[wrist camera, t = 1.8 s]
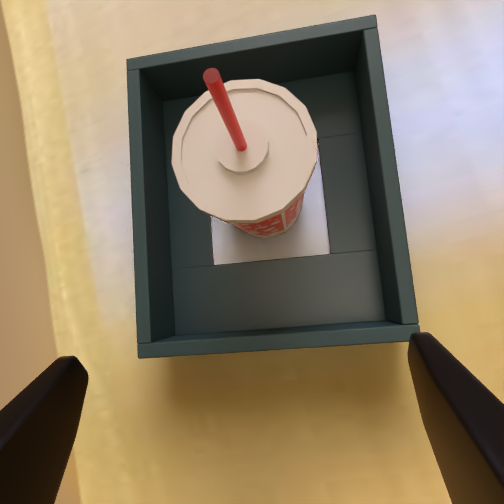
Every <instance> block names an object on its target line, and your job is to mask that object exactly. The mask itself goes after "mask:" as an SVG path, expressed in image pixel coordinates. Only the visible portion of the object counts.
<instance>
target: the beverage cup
mask: <svg viewBox="0 0 504 504" xmlns="http://www.w3.org/2000/svg"><path fill="white" fill-rule="evenodd" d="M203 79H204V81H205V83H206V86H207V88H208V91H206V92H204V93H203V94H202V95H201V96H200V97H199V98H198V99H197V100H196V101H195V102H194V103H193V104H192V105H191V106H190V107H189V108H188V109H187V110H186V111H185V112H184V115H183V117H182V119H181V121H180V123H179V125H178V127H177V129H176V132H175V134H174V136H173V148H172V166H173V169H174V172H175V175H176V178H177V181H178V184H179V186H180V189H181V190H182V191H183V192H184V193H185V194H186V196H187V197H188V198H189V199H190V200H191V201H192V202H193V203H194V204H195V205H196V206H197V207H198V208H199V209H200V210H201V211H203V212H205V213H207V214H209V215H211V216H214V217H216V218H218V219H221V220H223V221H225V222H228V223H232V224H234V225H235V226H237V227H238V228H240V229H242V230H243V231H245V232H247V233H249V234H251V235H254V236H256V237H274V236H277V235H279V234H282V233H284V232H286V231H287V230H288V229H289V228H290V227H291V226H292V225H293V224H294V223H295V222H296V219H297V217H298V215H299V213H300V210H301V206H302V201H303V196H304V191H305V189H306V187H307V185H308V182H309V180H310V178H311V176H312V174H313V171H314V169H315V165H316V152H317V131H316V129H315V127H314V124H313V122H312V120H311V117H310V115H309V113H308V111H307V108H306V106H305V105H304V104H303V103H301V102H300V101H299V100H298V99H297V98H296V97H295V96H294V95H293V94H292V93H290V92H289V91H288V90H287V89H286V88H284V87H281V86H278V85H276V84H273V83H270V82H267V81H264V80H261V79H247V80H231V81H229V82H226V83H224V84H223V81H222V79H221V76H220V74H219V71H218V70H217V69H215V68H209V69H207V70H206V71H205V72H204V74H203Z"/></svg>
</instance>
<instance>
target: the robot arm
mask: <svg viewBox="0 0 504 504" xmlns="http://www.w3.org/2000/svg"><path fill="white" fill-rule="evenodd" d="M408 363H409V367H410V371H411V375H412V379H413V384H414V388H415V392H416V396H417V400H418V404H419V408H420V413H421V416H422V420H423V423H424V426H425V430H426V432H427V435H428V438H429V441H430V443H431V446H432V449H433V452H434V454H435V457H436V460H437V463H438V465H439V468H440V471H441V474H442V476H443V479H444V482H445V485H446V487H447V490H448V493H449V496H450V498H451V501H452V504H504V404H503V403H502V402H501V401H500V400H499V399H498V398H497V397H496V396H495V395H494V394H493V393H492V392H490V391H489V390H488V389H487V388H486V387H485V386H484V385H483V384H482V383H481V382H480V381H479V380H478V379H477V378H476V377H475V376H474V375H473V374H472V373H471V372H470V371H469V370H468V369H467V368H466V367H465V366H463V365H462V364H461V363H460V362H459V361H458V360H457V359H456V358H455V357H454V356H453V355H452V354H451V353H450V352H449V351H448V350H447V349H446V348H445V347H444V346H443V345H442V344H441V343H440V342H439V341H438V340H437V339H435V338H434V337H433V336H432V335H431V334H430V333H428V332H420V333H412V334H411V336H410V341H409V347H408ZM87 385H88V373H87V371H86V369H85V368H84V367H83V365H82V364H81V363H80V361H79V360H78V358H77V357H75V356H63V357H59V358H58V359H57V360H55V361H54V362H53V363H52V364H51V365H50V366H49V367H48V368H47V369H46V370H44V371H43V372H42V373H41V374H40V375H39V376H38V377H37V378H36V379H35V380H33V381H32V382H31V383H30V384H29V385H28V386H27V387H26V388H25V389H24V390H23V391H21V392H20V393H19V394H18V395H17V396H16V397H15V398H14V399H13V400H12V401H10V402H9V403H8V404H7V405H6V406H5V407H4V408H3V409H2V410H1V411H0V504H54V503H55V500H56V496H57V493H58V490H59V487H60V484H61V481H62V478H63V475H64V472H65V469H66V466H67V462H68V459H69V456H70V453H71V450H72V447H73V444H74V441H75V437H76V434H77V430H78V426H79V421H80V417H81V412H82V408H83V403H84V398H85V394H86V389H87Z"/></svg>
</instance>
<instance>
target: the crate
mask: <svg viewBox="0 0 504 504" xmlns="http://www.w3.org/2000/svg"><path fill="white" fill-rule="evenodd" d="M126 61H127V90H128V116H129V142H130V168H131V194H132V219H133V245H134V271H135V297H136V323H137V343H138V345H137V346H138V358H139V359H142V358H158V357H174V356H189V355H205V354H221V353H236V352H252V351H268V350H283V349H299V348H315V347H330V346H346V345H362V344H377V343H393V342H409V341H410V336H411V334H412V333H420V327H419V324H418V322H419V321H418V314H417V307H416V299H415V292H414V285H413V278H412V271H411V264H410V257H409V249H408V242H407V235H406V228H405V221H404V214H403V206H402V199H401V192H400V185H399V178H398V171H397V164H396V156H395V149H394V142H393V135H392V128H391V121H390V113H389V106H388V99H387V92H386V85H385V78H384V71H383V63H382V56H381V49H380V42H379V35H378V29H377V19H376V15H370V16H364V17H359V18H353V19H348V20H342V21H337V22H331V23H325V24H320V25H314V26H309V27H303V28H298V29H292V30H286V31H281V32H275V33H270V34H264V35H259V36H253V37H247V38H242V39H236V40H231V41H225V42H220V43H214V44H208V45H203V46H197V47H192V48H186V49H181V50H175V51H169V52H164V53H158V54H153V55H147V56H142V57H136V58H130V59H127V60H126ZM209 68H215V69H217V70H218V71H219V74H220V76H221V79H222V81H223V84H224V83H226V82H229V81H231V80H247V79H261V80H264V81H267V82H270V83H273V84H276V85H278V86H281V87H284V88H286V89H287V90H288V91H289V92H290V93H292V94H293V95H294V96H295V97H296V98H297V99H298V100H299V101H300V102H301V103H303V104H304V105H305V106H306V108H307V111H308V113H309V115H310V117H311V120H312V122H313V124H314V127H315V129H316V131H317V140H318V143H319V152H320V162H321V171H322V180H323V189H324V198H325V207H326V216H327V225H328V234H329V243H330V252H331V254H326V255H316V256H306V257H295V258H285V259H275V260H264V261H254V262H244V263H233V264H223V265H213V250H212V235H211V221H210V215H209V214H207V213H205V212H203V211H201V210H200V209H199V208H198V207H197V206H196V205H195V204H194V203H193V202H192V201H191V200H190V199H189V198H188V197H187V196H186V194H185V193H184V192H183V191H182V190H181V189H180V186H179V184H178V181H177V178H176V175H175V172H174V169H173V166H172V148H173V136H174V134H175V132H176V129H177V127H178V125H179V123H180V121H181V119H182V117H183V115H184V112H185V111H186V110H187V109H188V108H189V107H190V106H191V105H192V104H193V103H194V102H195V101H196V100H197V99H198V98H199V97H200V96H201V95H202V94H203V93H204V92H206V91H208V88H207V86H206V83H205V81H204V79H203V74H204V72H205V71H206V70H207V69H209Z"/></svg>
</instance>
